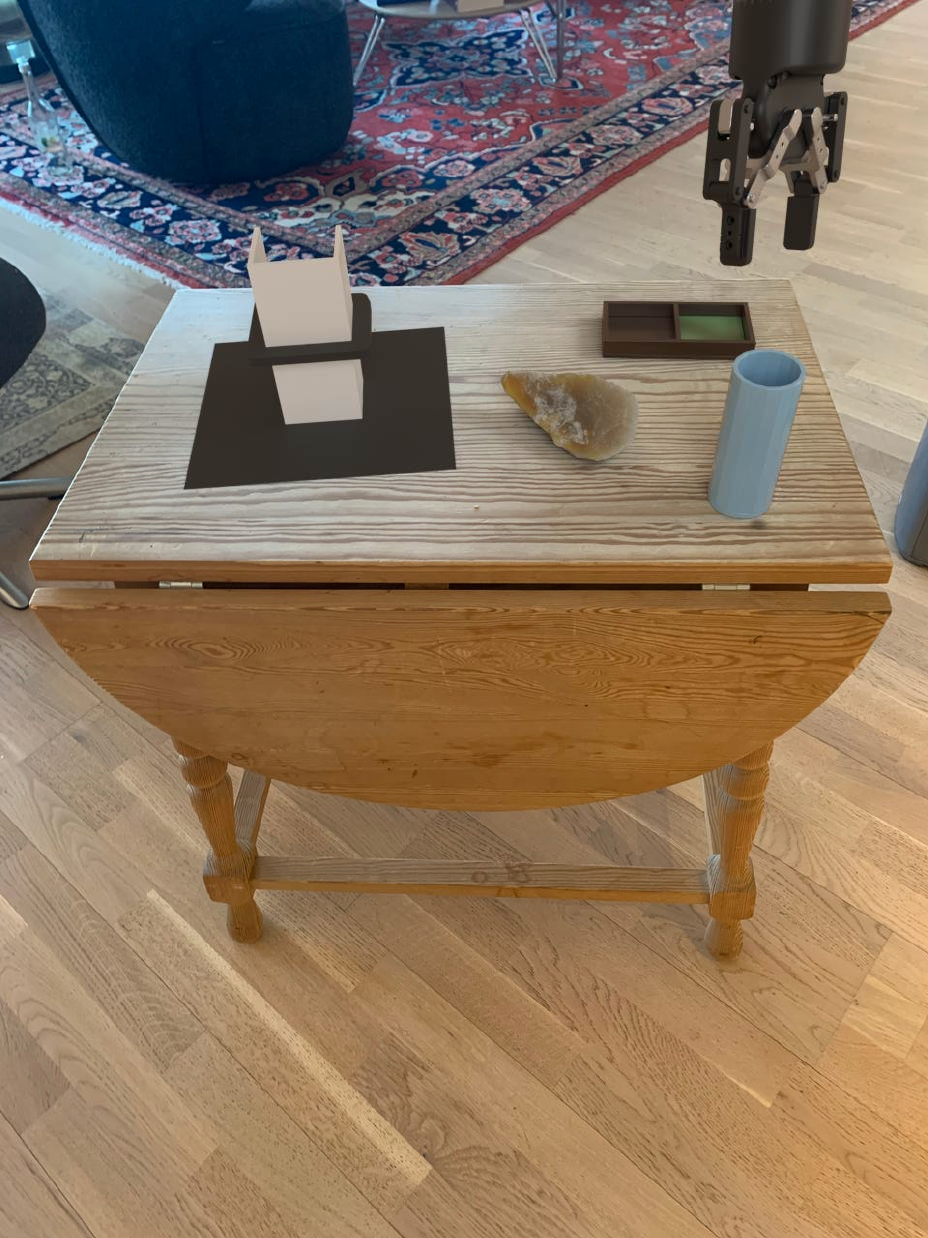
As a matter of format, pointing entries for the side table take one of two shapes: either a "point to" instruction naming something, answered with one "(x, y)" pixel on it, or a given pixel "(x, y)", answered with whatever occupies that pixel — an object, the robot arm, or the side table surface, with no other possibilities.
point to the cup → (754, 431)
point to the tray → (676, 330)
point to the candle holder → (320, 386)
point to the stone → (577, 411)
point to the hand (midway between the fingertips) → (767, 256)
